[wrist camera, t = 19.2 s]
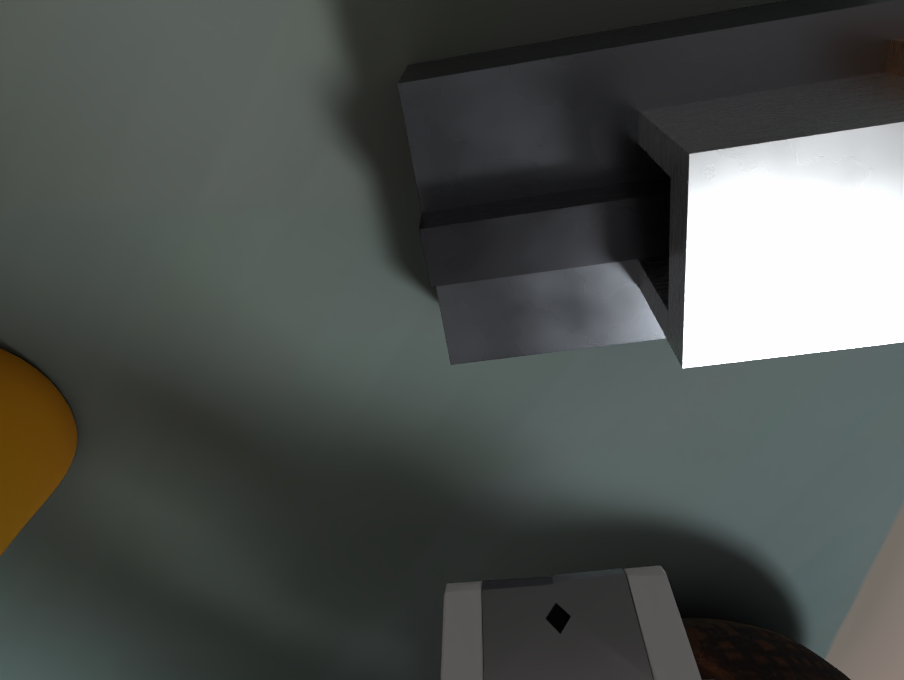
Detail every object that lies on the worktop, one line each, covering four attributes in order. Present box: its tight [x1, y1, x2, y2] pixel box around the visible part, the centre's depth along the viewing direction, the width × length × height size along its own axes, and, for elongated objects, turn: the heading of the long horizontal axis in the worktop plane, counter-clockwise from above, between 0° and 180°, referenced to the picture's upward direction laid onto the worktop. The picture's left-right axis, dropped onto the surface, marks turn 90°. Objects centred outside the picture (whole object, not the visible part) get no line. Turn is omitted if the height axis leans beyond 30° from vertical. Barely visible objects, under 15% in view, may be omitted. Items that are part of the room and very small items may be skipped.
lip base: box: [398, 0, 904, 365], centre depth 20 cm, size 16×10×8 cm, turn 99°
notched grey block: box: [638, 72, 904, 368], centre depth 18 cm, size 7×6×5 cm
